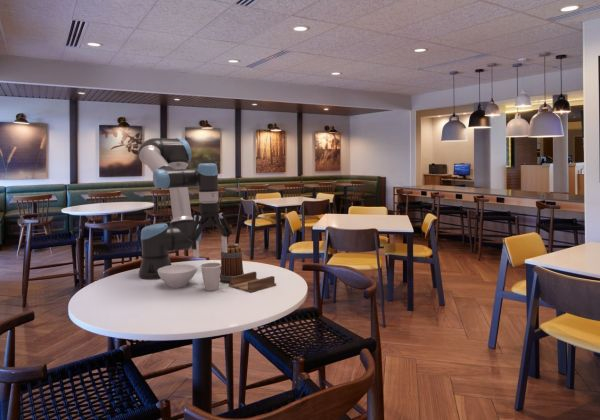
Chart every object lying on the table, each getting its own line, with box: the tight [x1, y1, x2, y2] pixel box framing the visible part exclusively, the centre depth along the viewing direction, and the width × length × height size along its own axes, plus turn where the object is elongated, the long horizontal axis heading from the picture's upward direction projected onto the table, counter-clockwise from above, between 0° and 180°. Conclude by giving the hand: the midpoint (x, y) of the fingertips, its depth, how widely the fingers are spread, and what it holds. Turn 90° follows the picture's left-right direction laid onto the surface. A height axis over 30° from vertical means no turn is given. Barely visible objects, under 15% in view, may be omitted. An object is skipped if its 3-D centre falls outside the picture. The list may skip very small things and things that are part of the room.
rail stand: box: [228, 271, 277, 293], centre depth 183 cm, size 14×14×4 cm
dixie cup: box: [200, 262, 221, 292], centre depth 179 cm, size 8×8×10 cm
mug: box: [220, 243, 245, 284], centre depth 194 cm, size 16×11×15 cm
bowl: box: [157, 263, 197, 288], centre depth 186 cm, size 16×16×7 cm
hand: (210, 254), depth 178 cm, fingers open, 13 cm apart
